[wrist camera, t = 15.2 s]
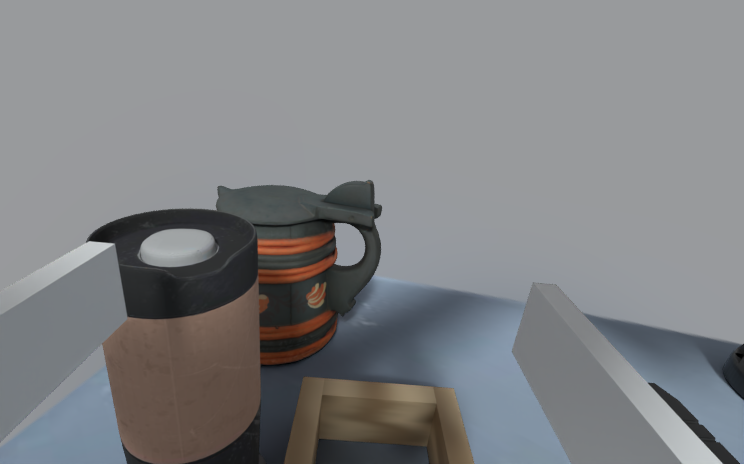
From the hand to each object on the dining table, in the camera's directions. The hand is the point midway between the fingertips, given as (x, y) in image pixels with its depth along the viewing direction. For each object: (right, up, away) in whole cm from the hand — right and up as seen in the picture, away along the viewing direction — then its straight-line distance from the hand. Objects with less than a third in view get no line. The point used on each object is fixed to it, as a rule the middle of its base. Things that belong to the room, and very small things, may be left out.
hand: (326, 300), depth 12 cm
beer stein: (-8, -10, +33) cm, 35 cm away
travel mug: (-10, -16, +14) cm, 24 cm away
